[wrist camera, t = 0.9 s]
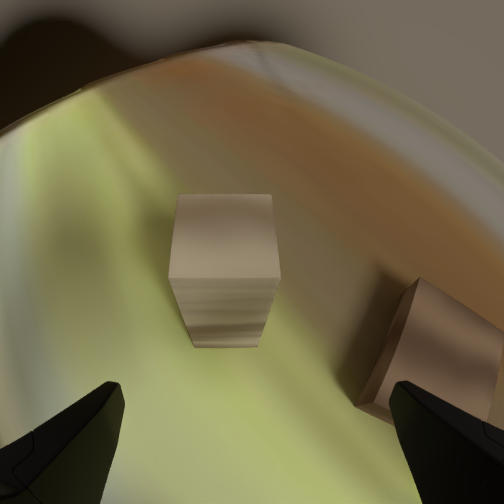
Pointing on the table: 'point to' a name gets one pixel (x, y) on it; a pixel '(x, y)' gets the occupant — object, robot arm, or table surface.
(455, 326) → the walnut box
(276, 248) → the birch block
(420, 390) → the robot arm
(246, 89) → the table surface
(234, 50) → the table surface
